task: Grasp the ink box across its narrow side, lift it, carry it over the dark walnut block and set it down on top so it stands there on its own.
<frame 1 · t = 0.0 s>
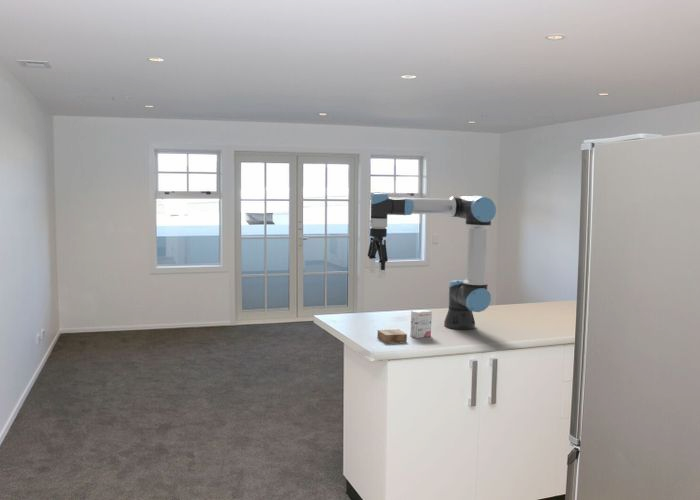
hand: (376, 275, 304), 28 cm above the worktop, fingers open, 13 cm apart
walnut block: (391, 340, 300), on the worktop
ink box: (420, 336, 309), on the worktop
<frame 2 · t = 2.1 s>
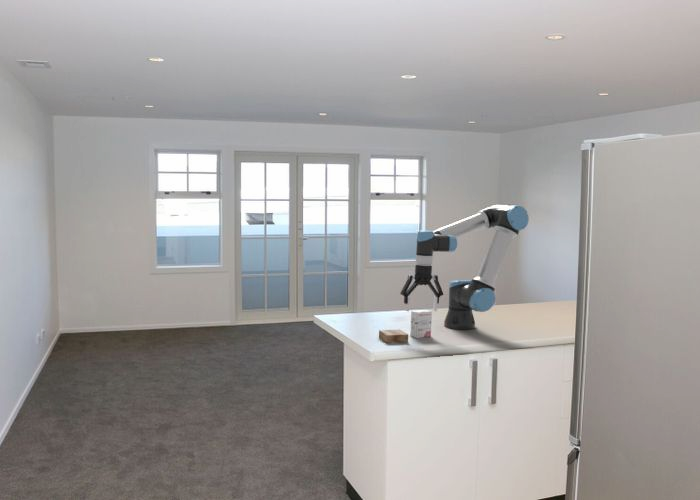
hand: (421, 310, 308), 12 cm above the worktop, fingers open, 13 cm apart
nothing on the worktop moved.
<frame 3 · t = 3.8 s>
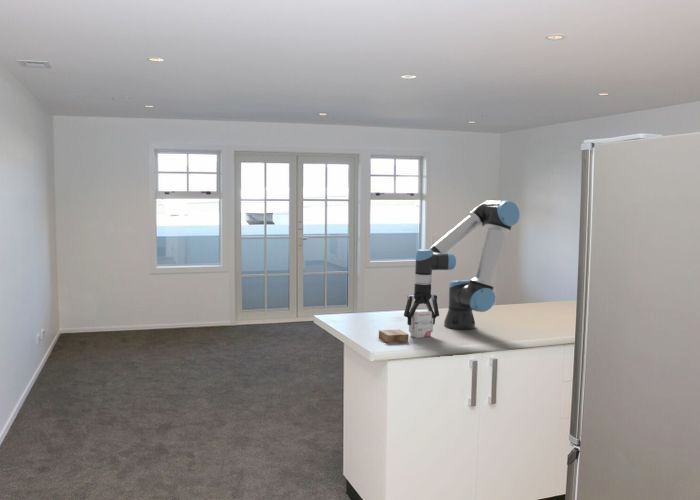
hand: (420, 331, 309), 2 cm above the worktop, fingers closed on ink box, 9 cm apart
ink box: (420, 336, 309), on the worktop, touching gripper
everything else where it was.
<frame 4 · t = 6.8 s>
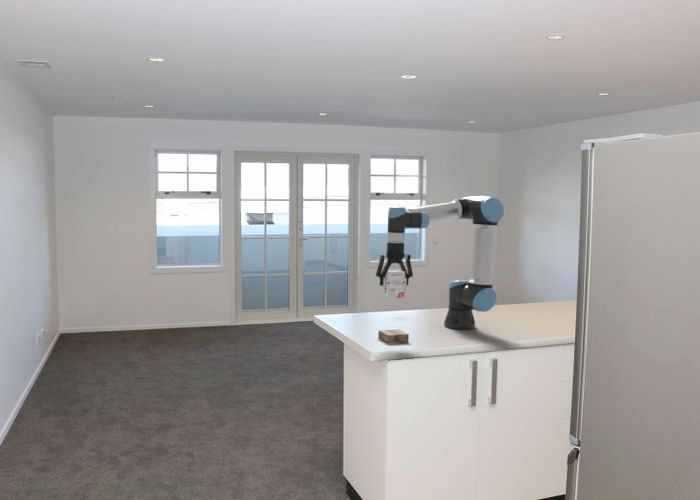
hand: (393, 292, 298), 21 cm above the worktop, fingers closed on ink box, 9 cm apart
ink box: (393, 297, 298), point 19 cm above the worktop, touching gripper
everything else where it was.
when the fingers open (7 cm above the worktop, at t = 10.2 s): ink box drops 2 cm, resting on walnut block.
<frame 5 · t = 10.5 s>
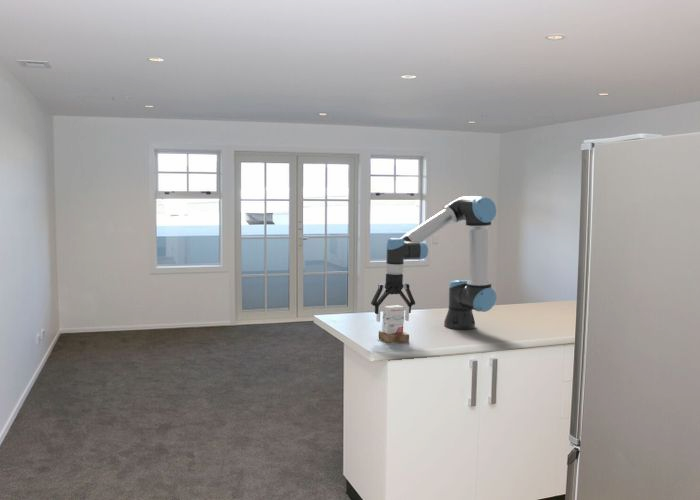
hand: (392, 320, 299), 9 cm above the worktop, fingers open, 13 cm apart
walnut block: (393, 341, 300), on the worktop, touching ink box
ink box: (392, 332, 300), point 3 cm above the worktop, touching walnut block
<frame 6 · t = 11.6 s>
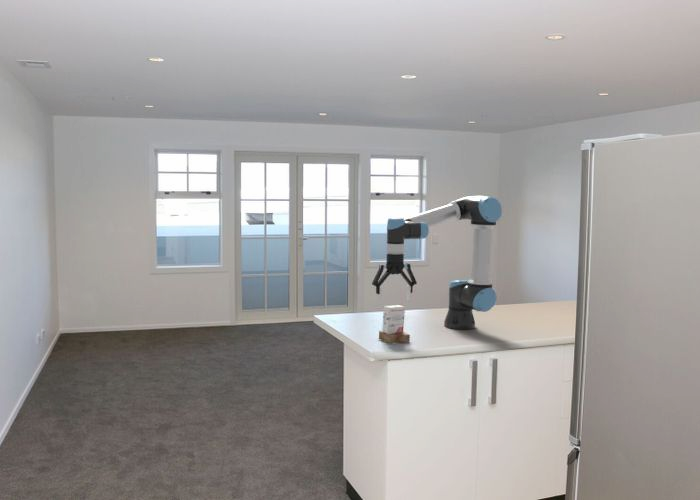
hand: (394, 300, 298), 18 cm above the worktop, fingers open, 13 cm apart
walnut block: (393, 341, 299), on the worktop
ink box: (392, 332, 300), point 3 cm above the worktop
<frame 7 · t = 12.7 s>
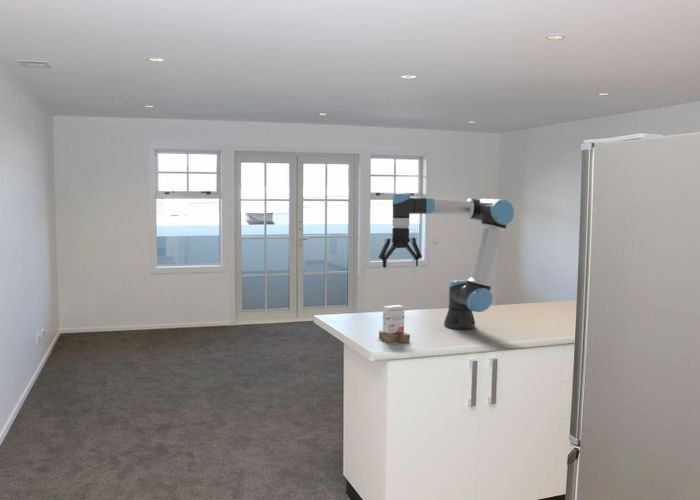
hand: (400, 274, 306), 28 cm above the worktop, fingers open, 13 cm apart
nothing on the worktop moved.
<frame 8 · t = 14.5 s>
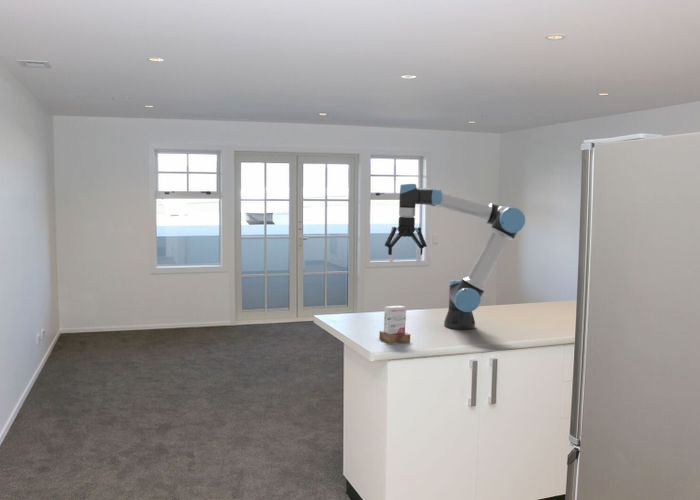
hand: (405, 261, 317), 33 cm above the worktop, fingers open, 13 cm apart
walnut block: (394, 341, 299), on the worktop, touching ink box
ink box: (394, 333, 299), point 3 cm above the worktop, touching walnut block
at the end: ink box 0.3 cm from the walnut block (horizontally); ink box tilted 1°; ink box touching walnut block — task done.
